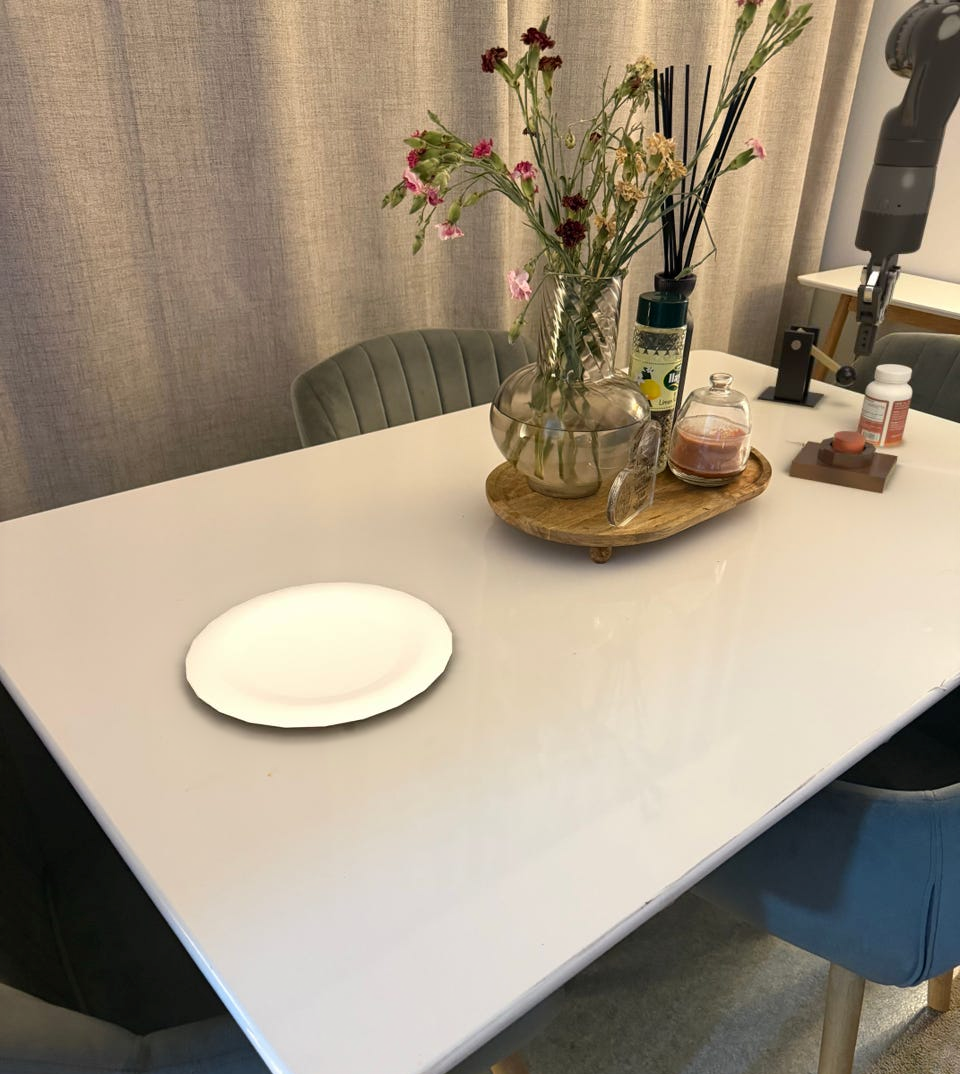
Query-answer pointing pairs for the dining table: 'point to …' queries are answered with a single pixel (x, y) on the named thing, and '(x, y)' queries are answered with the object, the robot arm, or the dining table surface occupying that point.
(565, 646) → the dining table surface
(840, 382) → the switch lever
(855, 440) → the button
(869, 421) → the pill bottle
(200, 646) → the plate
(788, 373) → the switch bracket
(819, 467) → the switch box
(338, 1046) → the dining table surface
